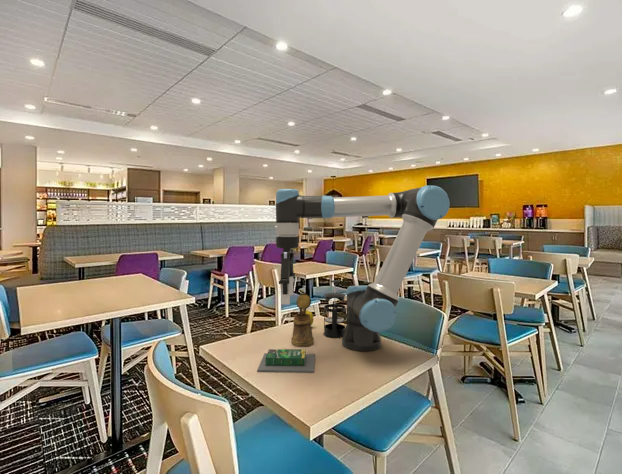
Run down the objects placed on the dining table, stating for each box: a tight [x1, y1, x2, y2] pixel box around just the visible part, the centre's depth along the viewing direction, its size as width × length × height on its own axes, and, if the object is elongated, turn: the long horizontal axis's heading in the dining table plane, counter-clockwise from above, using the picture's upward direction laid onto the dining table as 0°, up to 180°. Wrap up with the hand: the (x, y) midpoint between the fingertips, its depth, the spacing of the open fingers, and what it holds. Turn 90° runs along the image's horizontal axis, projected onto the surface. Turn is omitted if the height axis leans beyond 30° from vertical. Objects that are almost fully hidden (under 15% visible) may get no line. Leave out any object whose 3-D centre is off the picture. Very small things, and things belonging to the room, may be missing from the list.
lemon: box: [306, 309, 314, 326], centre depth 155 cm, size 6×6×8 cm
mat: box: [256, 352, 316, 374], centre depth 117 cm, size 18×14×1 cm
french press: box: [323, 279, 347, 339], centre depth 147 cm, size 12×9×23 cm
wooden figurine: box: [291, 292, 315, 348], centre depth 138 cm, size 9×14×18 cm, turn 176°
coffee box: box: [265, 348, 307, 366], centre depth 117 cm, size 8×3×13 cm
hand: (287, 299), depth 116 cm, fingers open, 13 cm apart
